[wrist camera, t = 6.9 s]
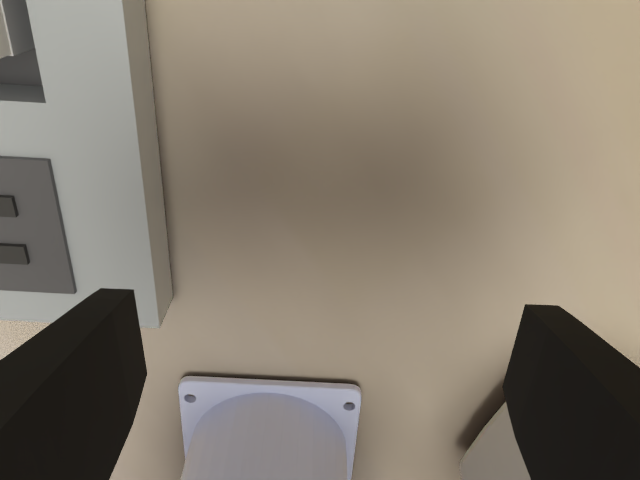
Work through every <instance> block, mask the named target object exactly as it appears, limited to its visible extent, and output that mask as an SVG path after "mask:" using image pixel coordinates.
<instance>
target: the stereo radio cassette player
mask: <svg viewBox="0 0 640 480" xmlns="http://www.w3.org/2000/svg"><path fill="white" fill-rule="evenodd" d="M459 471H460V475H461V479H462V480H531V478H530V476H529V473H528V471H527V468H526V465H525V463H524V460H523V458H522V455H521V452H520V450H519V447H518V444H517V442H516V439H515V436H514V432H513V428H512V424H511V420H510V417H509V413H508V408H507V404H506V402H505V403H504V404H503V405H502V406H501V408H500V409H499V410H498V411H497V412H496V414H495V415H494V416H493V417H492V418H491V419H490V421H489V422H488V423H487V424H486V425H485V427H484V428H483V429H482V431H481V432H480V433H479V435H478V436H477V438H476V439H475V440H474V442H473V443H472V445H471V446H470V447H469V449H468V450H467V452H466V453H465V455H464V456H463V458H462V459H461V461H460V462H459Z"/></svg>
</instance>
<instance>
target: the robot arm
mask: <svg viewBox="0 0 640 480" xmlns="http://www.w3.org/2000/svg"><path fill="white" fill-rule="evenodd" d="M146 376H147V370H146V364H145V357H144V351H143V345H142V338H141V332H140V325H139V319H138V313H137V306H136V300H135V294H134V289H110V288H100V289H99V290H97V291H96V292H94V293H93V294H91V295H90V296H88V297H87V298H85V299H84V300H83V301H81V302H80V303H78V304H77V305H76V306H74V307H73V308H72V309H70V310H69V311H68V312H66V313H65V314H64V315H62V316H61V317H60V318H58V319H57V320H55V321H54V322H53V323H51V324H50V325H49V326H47V327H46V328H45V329H43V330H42V331H40V332H39V333H38V334H36V335H35V336H34V337H32V338H31V339H29V340H28V341H27V342H25V343H24V344H22V345H21V346H20V347H18V348H17V349H16V350H14V351H13V352H11V353H10V354H9V355H7V356H6V357H4V358H3V359H1V360H0V480H109V479H110V476H111V474H112V472H113V469H114V467H115V465H116V462H117V460H118V458H119V455H120V453H121V451H122V448H123V446H124V444H125V441H126V439H127V437H128V434H129V432H130V429H131V427H132V424H133V421H134V418H135V415H136V411H137V408H138V405H139V401H140V398H141V394H142V391H143V387H144V383H145V379H146ZM503 391H504V395H505V399H506V404H507V408H508V413H509V417H510V420H511V424H512V428H513V432H514V436H515V439H516V442H517V444H518V447H519V450H520V452H521V455H522V458H523V460H524V463H525V465H526V468H527V471H528V473H529V476H530V478H531V480H640V368H639V367H638V366H636V365H635V364H634V363H633V362H631V361H630V360H629V359H627V358H626V357H625V356H624V355H622V354H621V353H620V352H618V351H617V350H616V349H615V348H613V347H612V346H611V345H610V344H608V343H607V342H606V341H605V340H603V339H602V338H601V337H599V336H598V335H597V334H596V333H594V332H593V331H592V330H591V329H589V328H588V327H587V326H585V325H584V324H583V323H582V322H580V321H579V320H578V319H576V318H575V317H574V316H572V315H571V314H570V313H568V312H567V311H565V310H564V309H562V308H561V307H560V306H553V305H527V304H525V307H524V311H523V314H522V318H521V322H520V325H519V329H518V333H517V336H516V340H515V344H514V347H513V351H512V354H511V358H510V362H509V365H508V369H507V373H506V376H505V380H504V384H503ZM178 393H179V403H180V413H181V423H182V433H183V443H184V453H185V464H184V468H183V472H182V475H181V479H180V480H351V477H352V469H353V461H354V454H355V446H356V438H357V430H358V422H359V414H360V407H361V399H362V397H361V389H360V388H359V387H358V386H356V385H354V384H342V383H322V382H302V381H282V380H262V379H242V378H222V377H202V376H186V377H184V378H182V379H181V380H180V383H179V386H178ZM188 394H191V395H194V396H189V395H188ZM347 402H352V404H346V403H347Z"/></svg>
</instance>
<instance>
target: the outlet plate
mask: <svg viewBox="0 0 640 480" xmlns="http://www.w3.org/2000/svg"><path fill="white" fill-rule="evenodd" d="M26 3H27V8H28V14H29V19H30V24H31V29H32V34H33V39H34V44H35V48H33V49H31V50H28V51H26V52H23V53H21V54H18V55H16V56H6V57H3V58H1V59H0V320H9V321H28V322H48V323H53V322H54V321H55V320H57V319H58V318H60V317H61V316H62V315H64V314H65V313H66V312H68V311H69V310H70V309H72V308H73V307H74V306H76V305H77V304H78V303H80V302H81V301H83V300H84V299H85V298H87V297H88V296H90V295H91V294H93V293H94V292H96V291H97V290H99V289H100V288H110V289H134V294H135V300H136V306H137V313H138V319H139V325H140V327H145V328H160V326H161V324H162V322H163V319H164V317H165V315H166V312H167V310H168V308H169V305H170V303H171V301H172V298H173V291H172V280H171V270H170V259H169V249H168V239H167V228H166V218H165V207H164V197H163V186H162V176H161V166H160V155H159V145H158V134H157V124H156V113H155V103H154V93H153V82H152V72H151V61H150V51H149V40H148V30H147V20H146V9H145V0H26Z"/></svg>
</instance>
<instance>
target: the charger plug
mask: <svg viewBox="0 0 640 480" xmlns="http://www.w3.org/2000/svg"><path fill="white" fill-rule="evenodd" d="M33 48H35V44H34V39H33V34H32V29H31V24H30V19H29V14H28V8H27V3H26V0H0V59H1V58H3V57H6V56H16V55H18V54H21V53H23V52H26V51H28V50H31V49H33Z"/></svg>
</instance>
